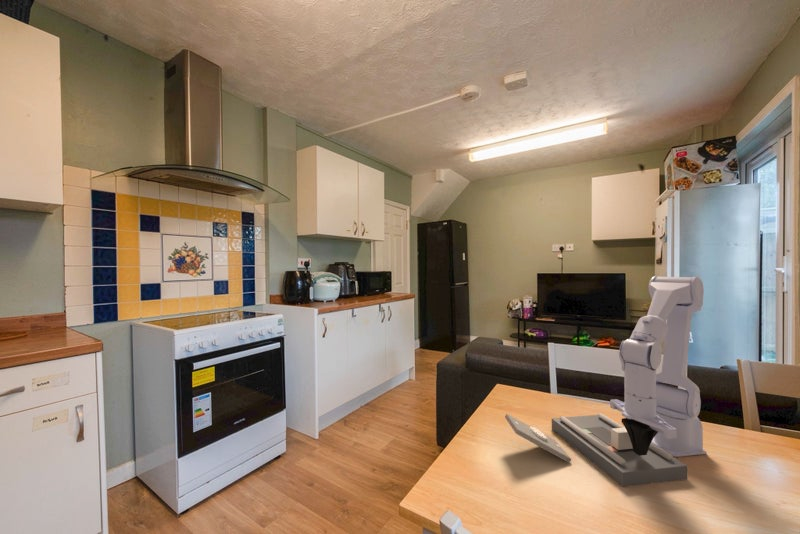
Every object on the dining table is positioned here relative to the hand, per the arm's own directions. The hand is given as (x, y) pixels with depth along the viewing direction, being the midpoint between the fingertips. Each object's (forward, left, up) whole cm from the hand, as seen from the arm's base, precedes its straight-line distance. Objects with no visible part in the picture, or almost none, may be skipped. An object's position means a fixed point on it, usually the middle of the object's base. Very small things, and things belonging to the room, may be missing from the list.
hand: (640, 453), depth 71 cm
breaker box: (0, -8, -4) cm, 9 cm away
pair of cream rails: (0, -9, -1) cm, 9 cm away
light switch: (+19, -10, -4) cm, 22 cm away
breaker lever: (0, -4, -1) cm, 4 cm away
